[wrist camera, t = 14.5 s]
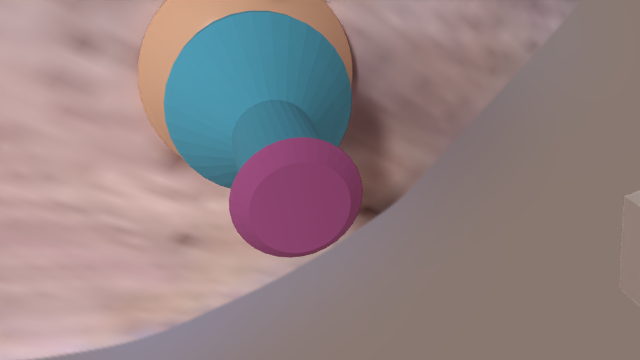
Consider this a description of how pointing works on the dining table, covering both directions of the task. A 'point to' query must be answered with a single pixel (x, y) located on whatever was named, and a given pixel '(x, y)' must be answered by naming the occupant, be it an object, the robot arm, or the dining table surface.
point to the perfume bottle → (268, 128)
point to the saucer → (196, 13)
